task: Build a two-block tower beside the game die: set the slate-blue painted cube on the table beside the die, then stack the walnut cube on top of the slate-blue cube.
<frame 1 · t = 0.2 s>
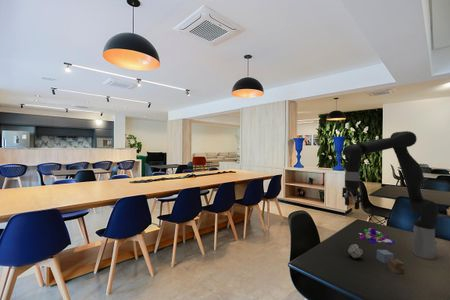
hand: (351, 207, 126), 28 cm above the table, tool pointing down, fingers open, 8 cm apart
walnut block: (395, 270, 111), on the table
game die: (355, 258, 124), on the table
blue block: (384, 260, 121), on the table
building block set: (376, 238, 154), on the table
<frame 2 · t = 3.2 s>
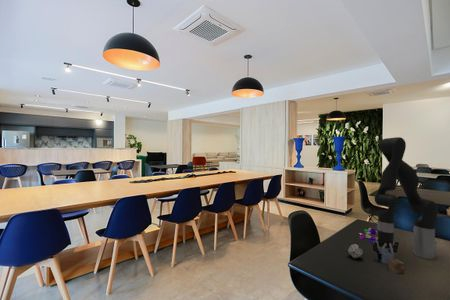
hand: (384, 259, 121), 1 cm above the table, tool pointing down, fingers closed on blue block, 5 cm apart
blue block: (384, 260, 121), on the table, touching gripper
everything else where it was.
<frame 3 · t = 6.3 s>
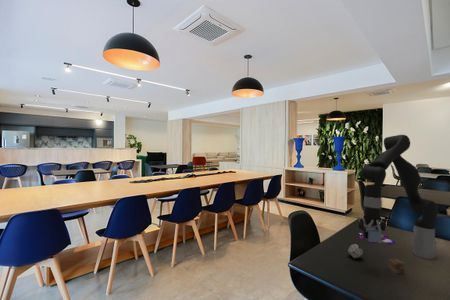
hand: (371, 238, 111), 16 cm above the table, tool pointing down, fingers closed on blue block, 5 cm apart
blue block: (371, 239, 111), point 16 cm above the table, touching gripper
everything else where it was.
when the fingers open (2 cm above the table, at t = 9.3 s): blue block drops 1 cm, on the table.
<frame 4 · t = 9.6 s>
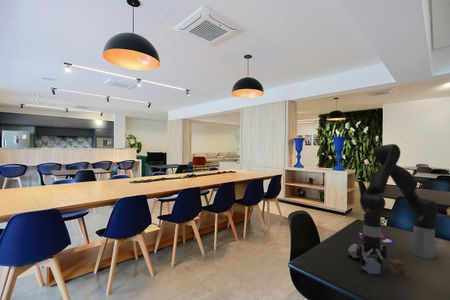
hand: (371, 265, 111), 3 cm above the table, tool pointing down, fingers open, 8 cm apart
blue block: (371, 270, 111), on the table
everything else where it was.
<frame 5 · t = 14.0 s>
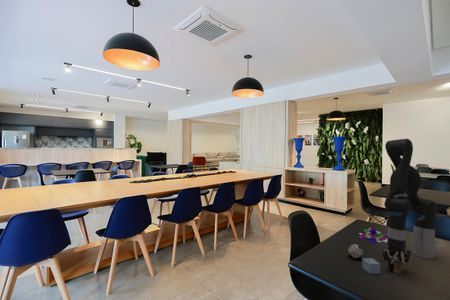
hand: (395, 269, 111), 0 cm above the table, tool pointing down, fingers closed on walnut block, 4 cm apart
walnut block: (395, 270, 111), on the table, touching gripper
everything else where it was.
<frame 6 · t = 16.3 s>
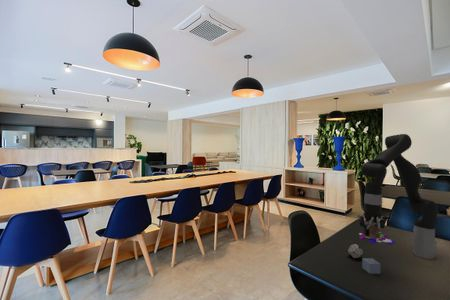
hand: (371, 235, 111), 18 cm above the table, tool pointing down, fingers closed on walnut block, 4 cm apart
walnut block: (371, 236, 111), point 17 cm above the table, touching gripper
everything else where it was.
when the fingers open (6 cm above the table, at t = 18.8 s): walnut block drops 1 cm, resting on blue block.
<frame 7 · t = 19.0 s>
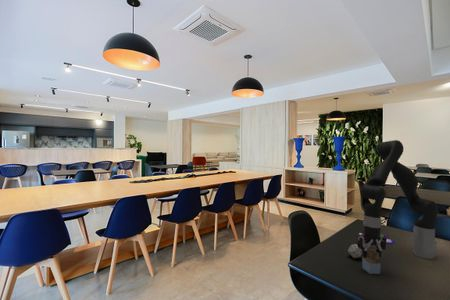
hand: (371, 257, 111), 7 cm above the table, tool pointing down, fingers open, 6 cm apart
walnut block: (371, 261, 111), point 5 cm above the table, touching blue block
blue block: (371, 270, 111), on the table, touching walnut block
everything else where it was.
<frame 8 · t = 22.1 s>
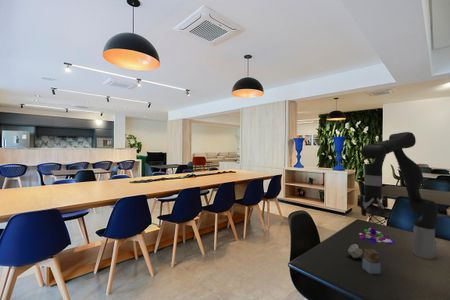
hand: (372, 215, 111), 28 cm above the table, tool pointing down, fingers open, 8 cm apart
nothing on the table moved.
at the end: blue block inside the target area (0.1 cm from its centre), on the table; walnut block point 4.9 cm above the table; walnut block 0.0 cm from the blue block (horizontally) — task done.
